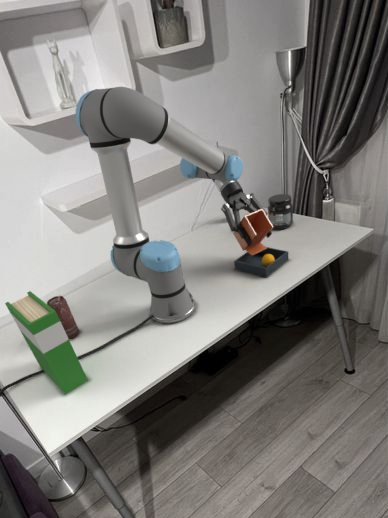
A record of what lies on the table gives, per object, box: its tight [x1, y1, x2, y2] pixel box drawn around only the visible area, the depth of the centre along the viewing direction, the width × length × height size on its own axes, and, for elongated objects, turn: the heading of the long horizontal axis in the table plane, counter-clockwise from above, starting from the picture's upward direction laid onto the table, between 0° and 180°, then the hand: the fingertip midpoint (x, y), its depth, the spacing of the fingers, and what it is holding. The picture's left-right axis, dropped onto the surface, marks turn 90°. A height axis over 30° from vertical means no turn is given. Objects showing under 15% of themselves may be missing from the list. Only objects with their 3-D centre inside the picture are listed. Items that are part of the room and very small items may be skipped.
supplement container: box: [267, 193, 294, 231], centre depth 172 cm, size 10×10×12 cm
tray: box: [233, 246, 289, 278], centre depth 149 cm, size 14×14×4 cm
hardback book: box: [5, 290, 89, 395], centre depth 112 cm, size 18×7×24 cm, turn 41°
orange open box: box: [232, 209, 273, 256], centre depth 145 cm, size 12×8×12 cm
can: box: [46, 295, 80, 341], centre depth 132 cm, size 6×6×14 cm
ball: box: [262, 254, 275, 267], centre depth 147 cm, size 5×5×5 cm
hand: (260, 240), depth 144 cm, fingers closed on orange open box, 8 cm apart
